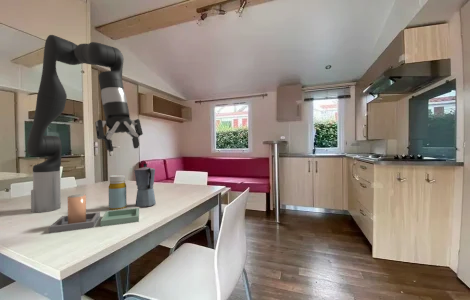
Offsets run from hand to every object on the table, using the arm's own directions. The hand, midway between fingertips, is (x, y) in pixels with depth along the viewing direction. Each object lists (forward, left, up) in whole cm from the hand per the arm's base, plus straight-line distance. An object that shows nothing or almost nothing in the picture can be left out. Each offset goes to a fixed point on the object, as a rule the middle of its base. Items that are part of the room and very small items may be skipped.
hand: (124, 149), depth 74 cm
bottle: (-5, +27, -27) cm, 38 cm away
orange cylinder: (-16, +9, -26) cm, 32 cm away
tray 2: (-2, +9, -27) cm, 28 cm away
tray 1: (-16, +9, -27) cm, 32 cm away
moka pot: (+7, +28, -27) cm, 39 cm away
